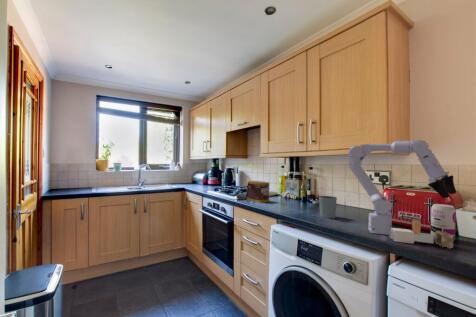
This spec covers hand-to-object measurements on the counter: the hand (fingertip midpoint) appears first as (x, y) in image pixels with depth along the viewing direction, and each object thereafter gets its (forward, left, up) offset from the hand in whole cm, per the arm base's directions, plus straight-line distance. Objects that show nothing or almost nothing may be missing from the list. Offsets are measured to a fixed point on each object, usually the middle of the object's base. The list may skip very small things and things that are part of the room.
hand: (449, 195), depth 98 cm
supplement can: (+1, +9, -21) cm, 22 cm away
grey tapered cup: (-46, +32, -21) cm, 60 cm away
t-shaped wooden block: (-14, -2, -20) cm, 25 cm away
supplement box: (-98, +68, -21) cm, 121 cm away
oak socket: (-2, -2, -20) cm, 21 cm away
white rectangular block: (-17, -2, -20) cm, 27 cm away
